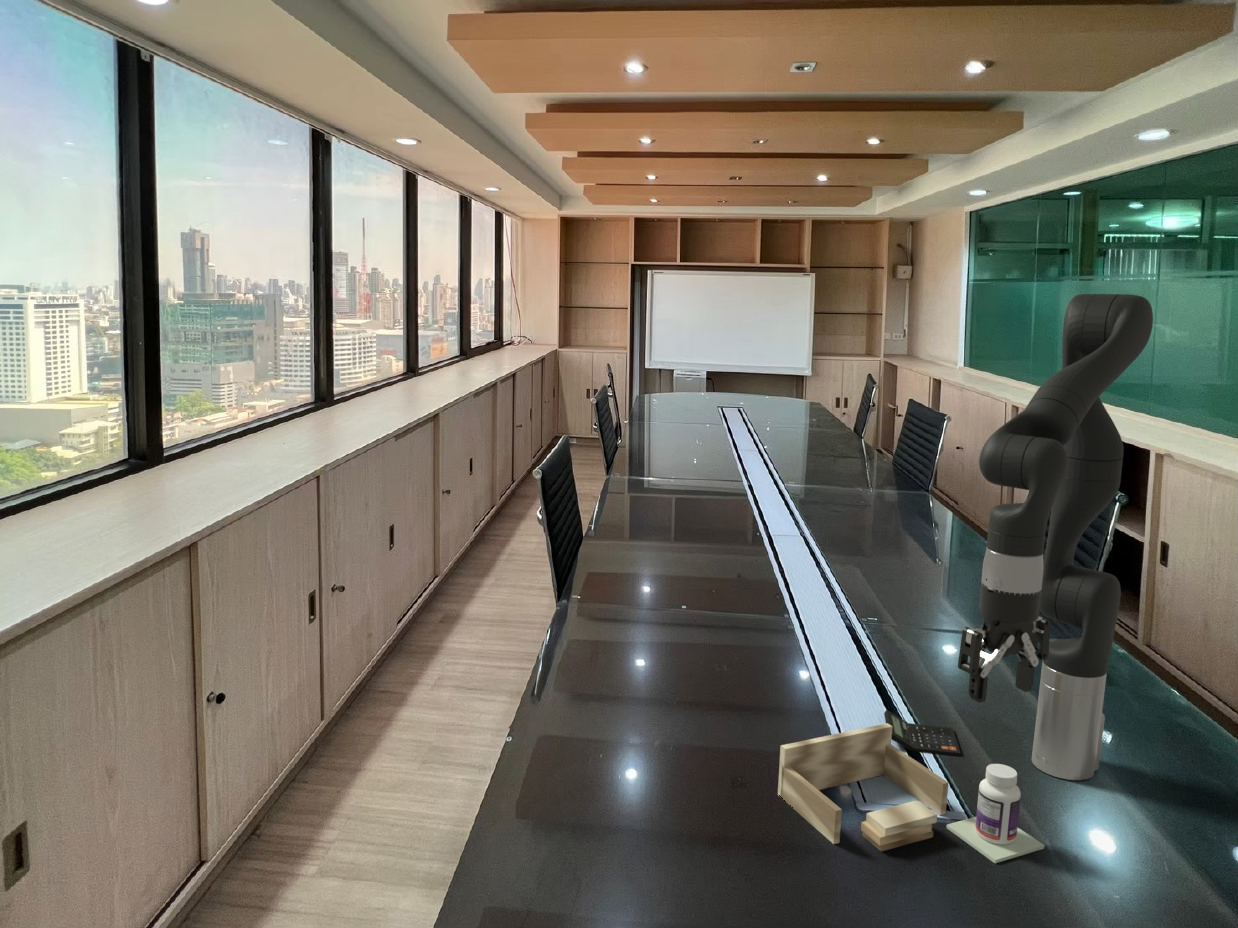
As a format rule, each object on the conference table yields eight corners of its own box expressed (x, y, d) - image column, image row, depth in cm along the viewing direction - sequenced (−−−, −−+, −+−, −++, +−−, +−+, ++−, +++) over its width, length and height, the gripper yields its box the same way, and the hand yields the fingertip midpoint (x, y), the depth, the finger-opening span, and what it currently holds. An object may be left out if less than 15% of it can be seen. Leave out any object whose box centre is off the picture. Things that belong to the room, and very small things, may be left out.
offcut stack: (915, 823, 133) (917, 800, 132) (935, 838, 129) (937, 814, 129) (860, 837, 129) (861, 814, 128) (878, 853, 125) (880, 829, 125)
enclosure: (883, 769, 147) (887, 723, 146) (945, 814, 135) (950, 763, 133) (777, 794, 139) (780, 745, 138) (833, 844, 127) (837, 790, 125)
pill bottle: (1005, 823, 132) (1012, 760, 130) (1023, 845, 127) (1030, 780, 125) (968, 823, 132) (974, 760, 130) (984, 846, 126) (991, 780, 125)
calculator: (960, 758, 152) (961, 741, 152) (887, 749, 154) (888, 733, 154) (952, 732, 161) (953, 716, 161) (883, 725, 164) (884, 709, 163)
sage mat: (993, 814, 135) (994, 811, 135) (1044, 848, 127) (1044, 845, 127) (946, 827, 131) (946, 824, 131) (995, 863, 123) (995, 860, 123)
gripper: (1027, 568, 130) (1016, 676, 133) (950, 580, 125) (941, 692, 128) (1072, 584, 124) (1060, 697, 127) (993, 597, 118) (982, 715, 121)
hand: (1000, 694), depth 127 cm, fingers open, 8 cm apart
